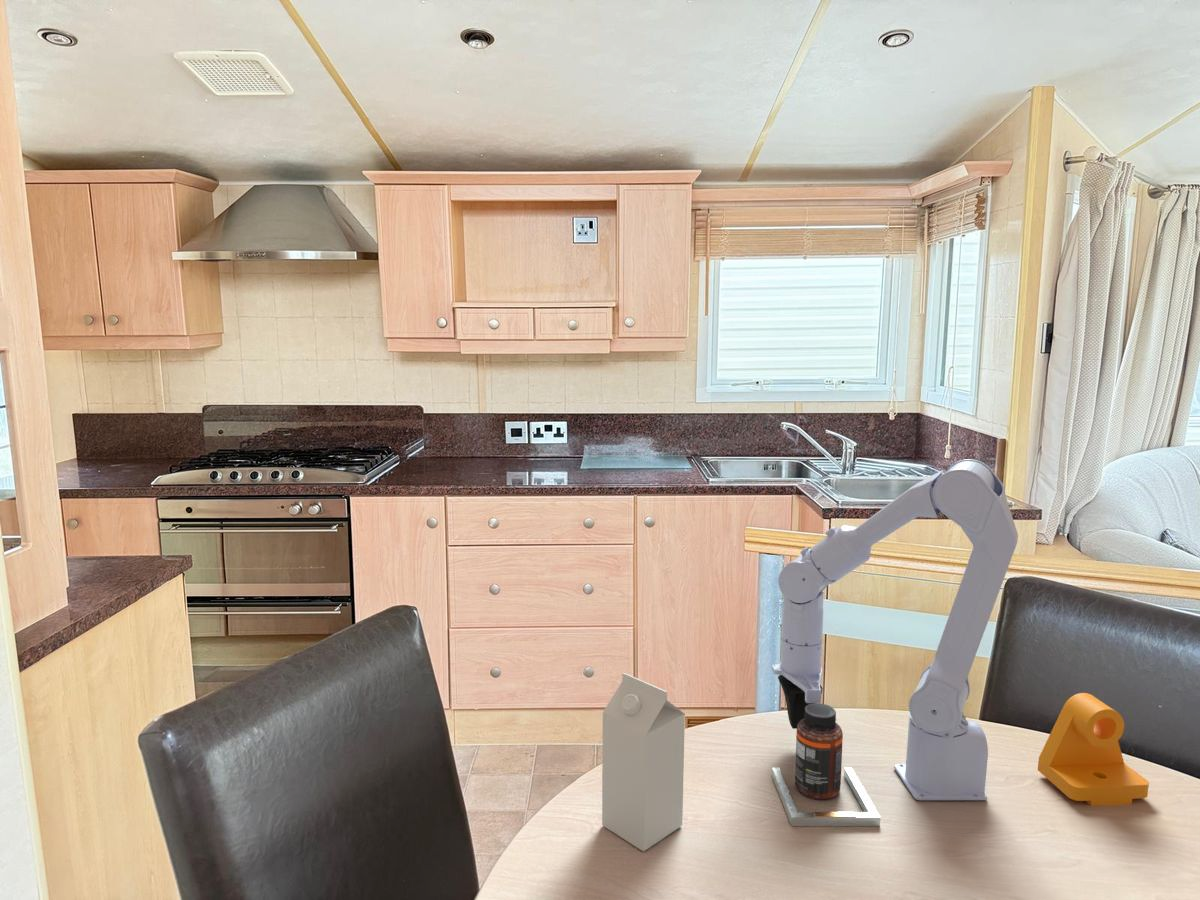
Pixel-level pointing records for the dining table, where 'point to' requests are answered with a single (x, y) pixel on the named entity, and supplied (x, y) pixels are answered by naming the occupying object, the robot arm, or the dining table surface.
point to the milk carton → (642, 763)
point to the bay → (829, 818)
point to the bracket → (1090, 755)
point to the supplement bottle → (818, 752)
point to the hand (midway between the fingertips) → (798, 726)
